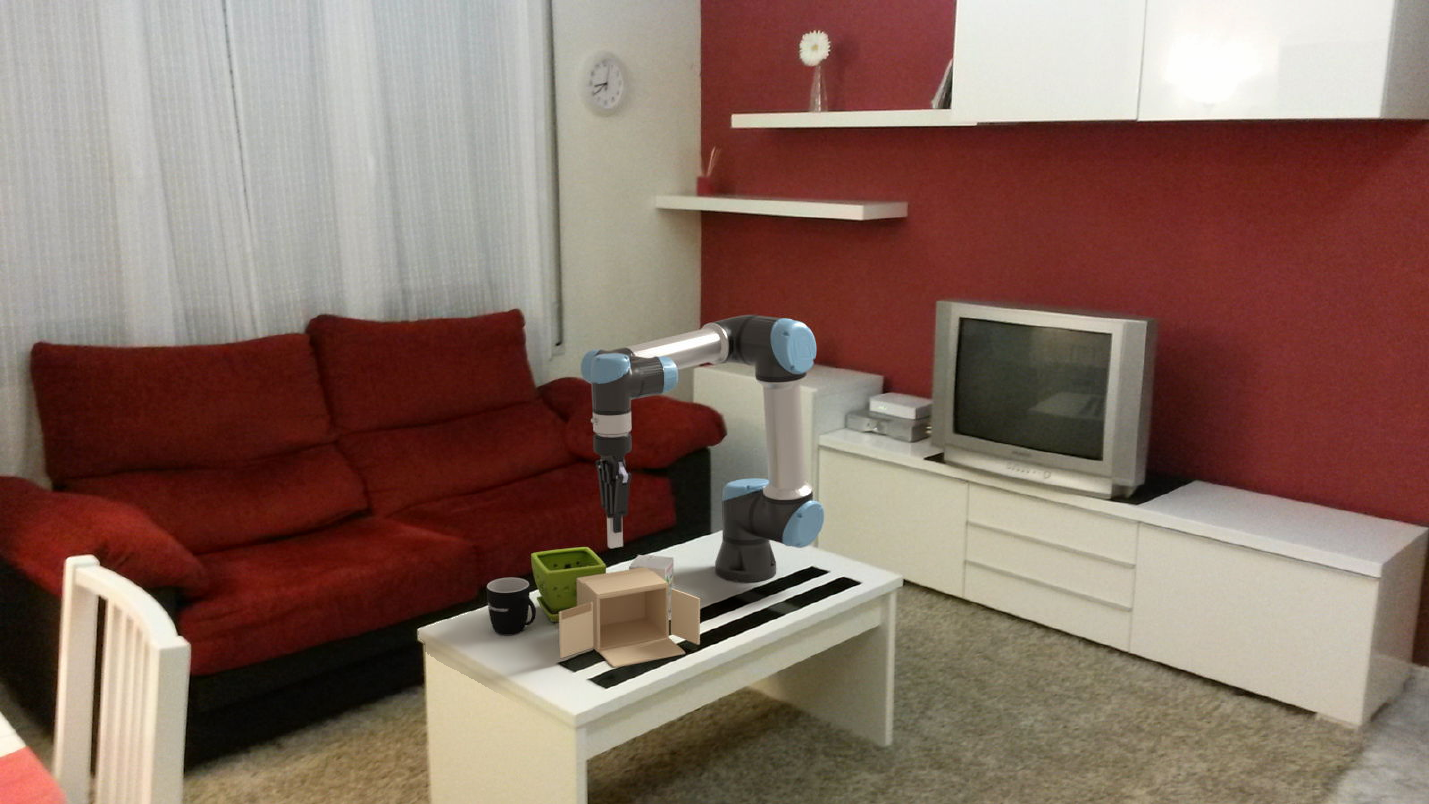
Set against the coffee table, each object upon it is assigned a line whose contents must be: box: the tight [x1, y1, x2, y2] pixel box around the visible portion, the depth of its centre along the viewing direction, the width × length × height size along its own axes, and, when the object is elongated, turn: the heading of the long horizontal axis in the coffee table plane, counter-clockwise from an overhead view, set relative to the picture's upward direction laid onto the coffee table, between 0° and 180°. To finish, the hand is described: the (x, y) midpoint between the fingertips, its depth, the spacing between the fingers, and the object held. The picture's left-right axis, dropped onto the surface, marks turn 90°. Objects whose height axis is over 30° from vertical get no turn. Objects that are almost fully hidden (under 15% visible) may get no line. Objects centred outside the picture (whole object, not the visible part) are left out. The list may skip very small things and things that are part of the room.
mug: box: [486, 577, 537, 636], centre depth 240 cm, size 12×9×10 cm
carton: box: [577, 567, 701, 669], centre depth 236 cm, size 19×20×12 cm
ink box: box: [628, 554, 674, 612], centre depth 252 cm, size 8×8×12 cm
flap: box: [558, 602, 593, 659], centre depth 227 cm, size 8×1×10 cm, turn 133°
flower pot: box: [530, 546, 607, 623], centre depth 251 cm, size 14×14×13 cm
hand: (615, 546), depth 228 cm, fingers closed
